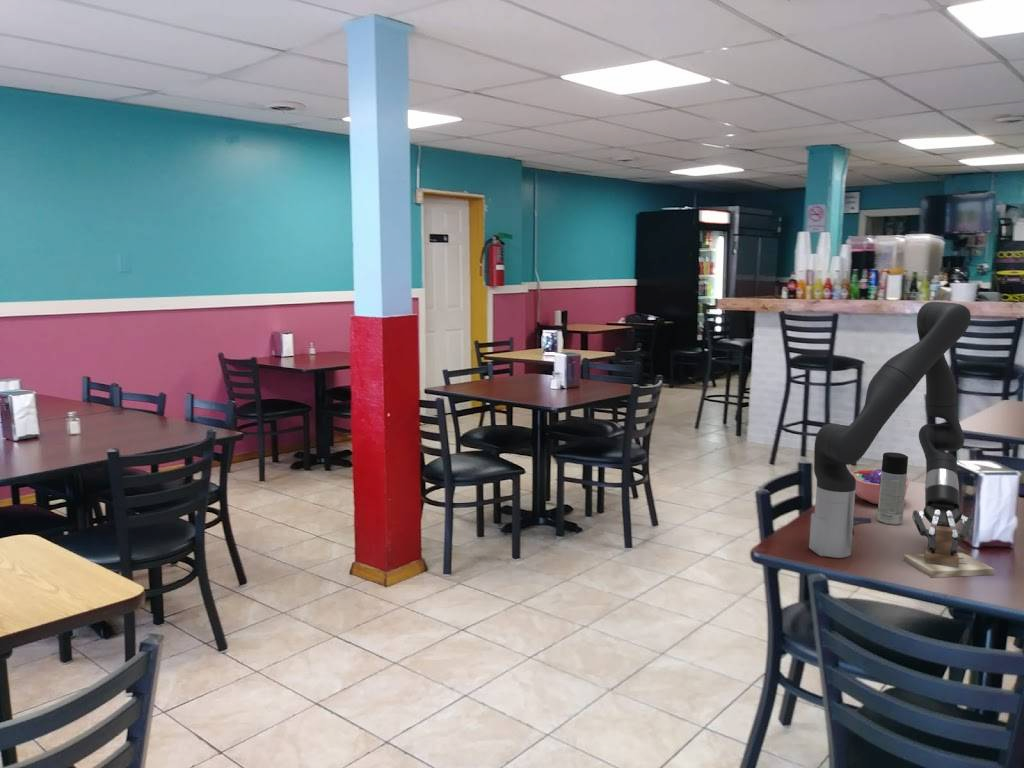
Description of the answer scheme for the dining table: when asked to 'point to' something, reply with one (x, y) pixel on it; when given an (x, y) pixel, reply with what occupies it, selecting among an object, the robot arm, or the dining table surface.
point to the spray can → (892, 488)
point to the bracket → (860, 521)
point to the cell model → (870, 484)
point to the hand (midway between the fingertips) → (942, 552)
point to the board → (965, 568)
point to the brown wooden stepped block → (942, 549)
